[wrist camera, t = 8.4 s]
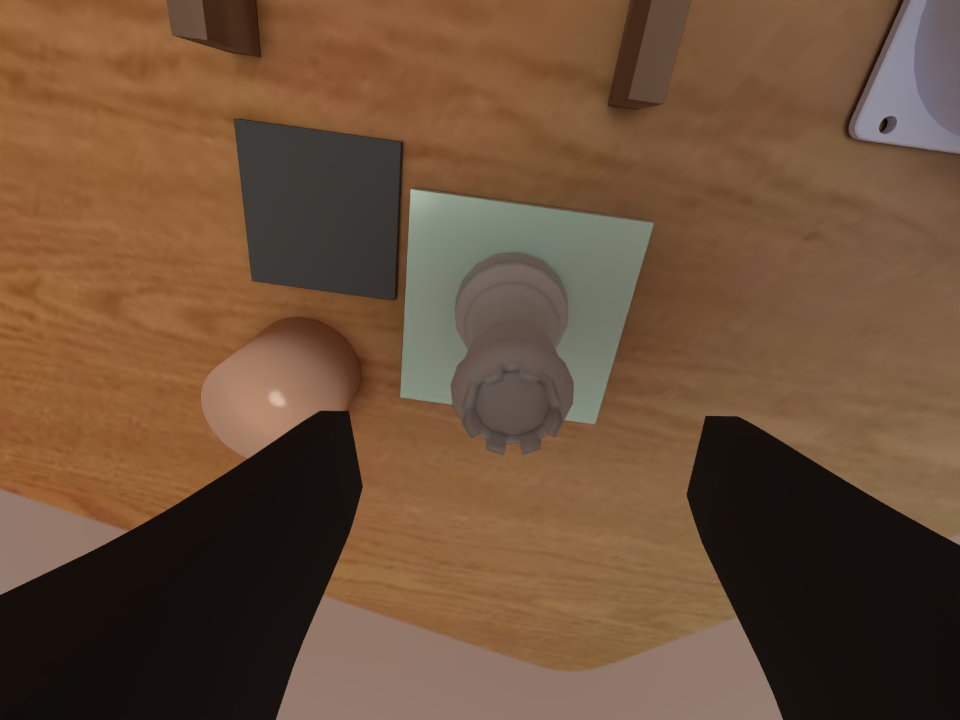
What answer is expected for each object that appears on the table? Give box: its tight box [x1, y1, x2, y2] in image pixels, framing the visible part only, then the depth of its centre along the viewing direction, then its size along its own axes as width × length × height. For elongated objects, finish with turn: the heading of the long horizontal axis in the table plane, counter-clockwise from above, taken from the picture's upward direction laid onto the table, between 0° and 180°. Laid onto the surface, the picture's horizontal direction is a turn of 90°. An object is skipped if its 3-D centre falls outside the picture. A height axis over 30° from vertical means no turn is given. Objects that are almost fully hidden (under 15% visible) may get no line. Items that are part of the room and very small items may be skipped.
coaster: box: [400, 188, 654, 424], centre depth 19 cm, size 9×9×1 cm
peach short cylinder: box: [201, 317, 361, 458], centre depth 19 cm, size 5×5×4 cm
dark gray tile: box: [234, 119, 403, 301], centre depth 17 cm, size 6×6×1 cm
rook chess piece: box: [450, 253, 574, 455], centre depth 14 cm, size 4×4×8 cm
